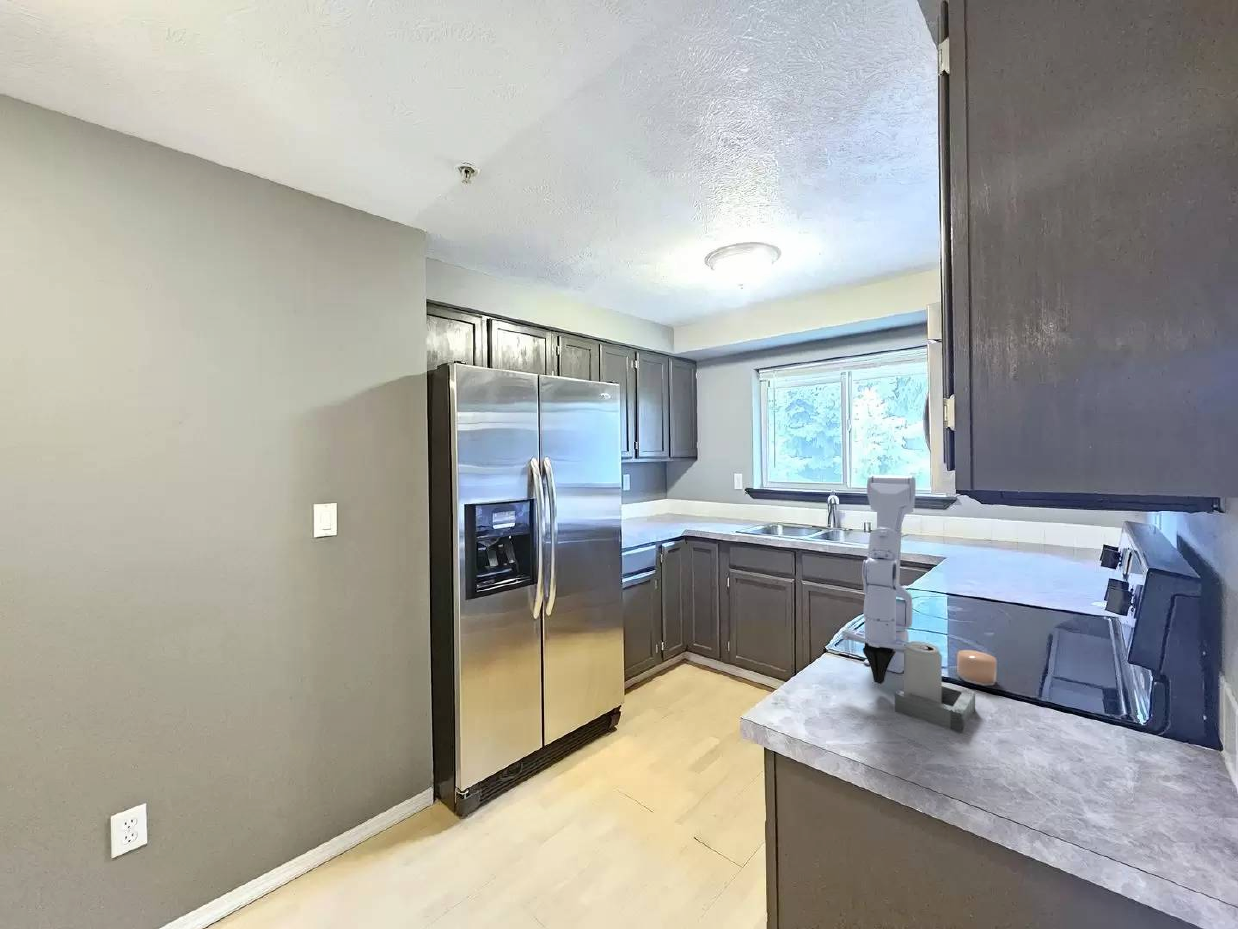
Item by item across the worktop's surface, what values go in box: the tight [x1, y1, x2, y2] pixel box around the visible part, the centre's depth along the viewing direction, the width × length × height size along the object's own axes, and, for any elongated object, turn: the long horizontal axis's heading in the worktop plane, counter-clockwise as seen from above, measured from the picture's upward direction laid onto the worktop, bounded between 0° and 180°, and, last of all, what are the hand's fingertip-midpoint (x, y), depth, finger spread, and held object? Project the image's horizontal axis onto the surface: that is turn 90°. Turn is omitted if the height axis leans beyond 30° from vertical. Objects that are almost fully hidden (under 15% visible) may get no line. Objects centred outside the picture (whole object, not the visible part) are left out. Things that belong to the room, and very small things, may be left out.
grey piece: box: [894, 682, 976, 734], centre depth 101 cm, size 11×11×4 cm
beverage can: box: [903, 641, 943, 703], centre depth 102 cm, size 6×6×12 cm
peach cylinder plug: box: [956, 649, 998, 684], centre depth 114 cm, size 7×7×5 cm
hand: (879, 681), depth 108 cm, fingers closed
